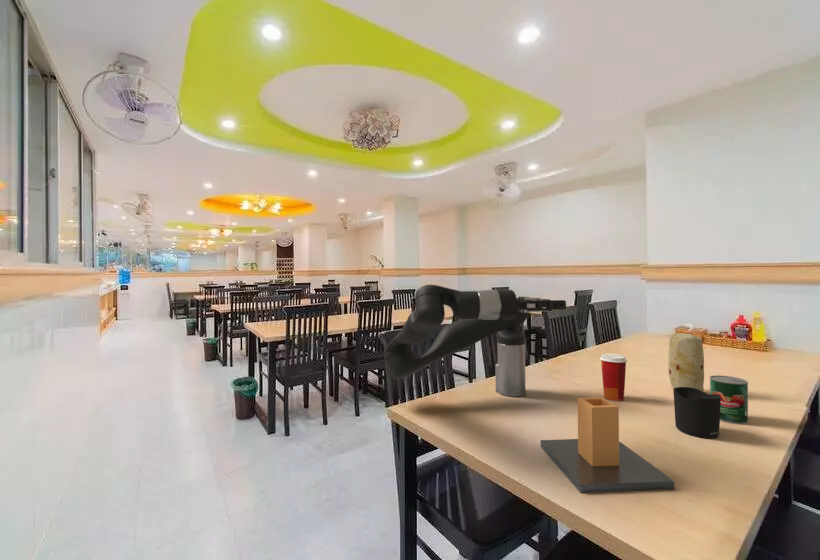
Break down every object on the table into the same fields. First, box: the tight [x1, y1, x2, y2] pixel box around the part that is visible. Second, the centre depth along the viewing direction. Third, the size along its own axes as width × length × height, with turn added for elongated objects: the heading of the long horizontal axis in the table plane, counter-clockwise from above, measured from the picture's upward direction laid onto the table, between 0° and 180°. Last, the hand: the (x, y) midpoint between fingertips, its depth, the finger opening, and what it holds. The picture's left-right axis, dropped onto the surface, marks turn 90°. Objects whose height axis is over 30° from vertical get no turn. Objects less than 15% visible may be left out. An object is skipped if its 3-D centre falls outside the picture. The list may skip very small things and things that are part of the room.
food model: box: [667, 332, 705, 392], centre depth 120 cm, size 10×7×20 cm
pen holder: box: [672, 387, 721, 439], centre depth 90 cm, size 9×9×10 cm
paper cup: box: [599, 353, 628, 402], centre depth 115 cm, size 8×8×14 cm
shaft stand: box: [540, 438, 675, 494], centre depth 75 cm, size 18×18×9 cm
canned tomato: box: [709, 374, 749, 425], centre depth 98 cm, size 8×8×11 cm
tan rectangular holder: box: [577, 396, 620, 466], centre depth 74 cm, size 6×6×12 cm
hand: (557, 303), depth 89 cm, fingers open, 8 cm apart
